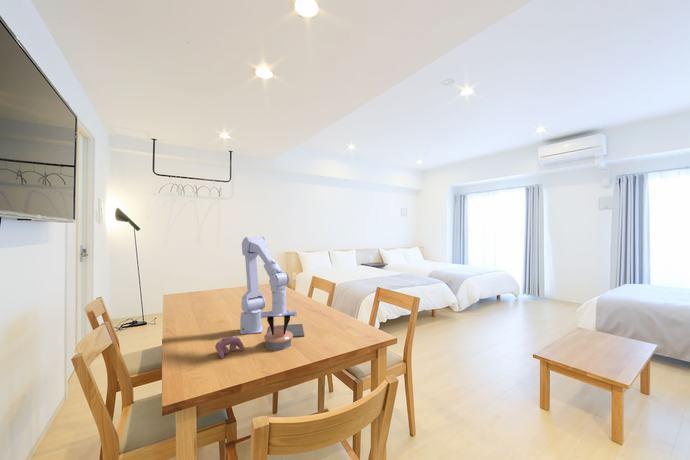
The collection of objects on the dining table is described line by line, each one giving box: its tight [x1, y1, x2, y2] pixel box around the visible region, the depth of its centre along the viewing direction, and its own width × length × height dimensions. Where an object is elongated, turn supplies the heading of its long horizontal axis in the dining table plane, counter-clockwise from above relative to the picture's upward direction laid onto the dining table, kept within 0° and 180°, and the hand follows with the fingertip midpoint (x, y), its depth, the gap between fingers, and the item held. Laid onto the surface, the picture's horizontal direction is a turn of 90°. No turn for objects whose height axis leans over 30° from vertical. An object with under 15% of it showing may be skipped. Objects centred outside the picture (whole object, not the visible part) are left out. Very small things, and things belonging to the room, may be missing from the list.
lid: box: [263, 324, 294, 343], centre depth 120 cm, size 12×12×4 cm
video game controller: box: [214, 335, 245, 359], centre depth 112 cm, size 10×5×7 cm, turn 141°
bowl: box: [265, 339, 292, 351], centre depth 120 cm, size 10×10×3 cm
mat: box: [267, 323, 305, 338], centre depth 134 cm, size 16×15×1 cm
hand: (278, 333), depth 120 cm, fingers closed on lid, 4 cm apart
